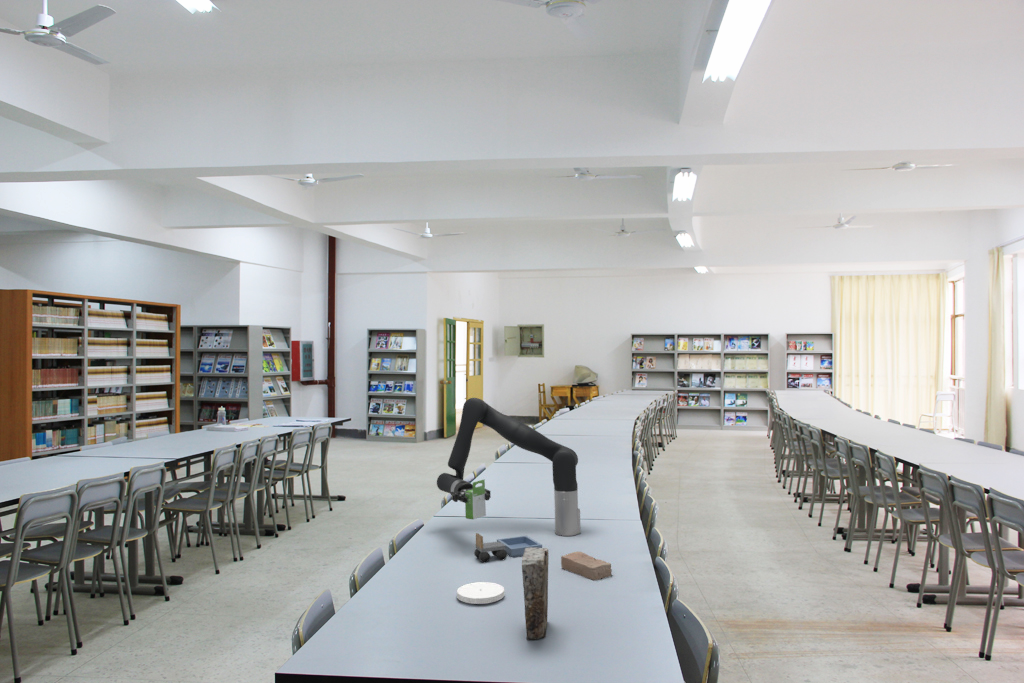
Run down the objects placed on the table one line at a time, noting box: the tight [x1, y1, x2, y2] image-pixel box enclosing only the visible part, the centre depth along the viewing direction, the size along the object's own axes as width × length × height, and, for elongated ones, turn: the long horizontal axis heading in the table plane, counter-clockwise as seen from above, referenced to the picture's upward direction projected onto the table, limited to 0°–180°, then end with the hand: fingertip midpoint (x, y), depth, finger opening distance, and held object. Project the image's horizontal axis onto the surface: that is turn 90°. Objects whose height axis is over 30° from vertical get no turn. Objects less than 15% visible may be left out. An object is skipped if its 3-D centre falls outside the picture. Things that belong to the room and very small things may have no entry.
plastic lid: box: [456, 581, 506, 605], centre depth 204 cm, size 14×14×2 cm
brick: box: [560, 551, 613, 581], centre depth 225 cm, size 17×8×5 cm, turn 36°
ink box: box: [464, 478, 487, 520], centre depth 251 cm, size 7×4×13 cm, turn 141°
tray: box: [496, 535, 543, 558], centre depth 251 cm, size 12×14×3 cm
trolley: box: [473, 532, 508, 563], centre depth 241 cm, size 10×6×9 cm, turn 112°
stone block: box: [521, 547, 549, 641], centre depth 179 cm, size 13×7×20 cm, turn 178°
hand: (477, 498), depth 249 cm, fingers closed on ink box, 8 cm apart
